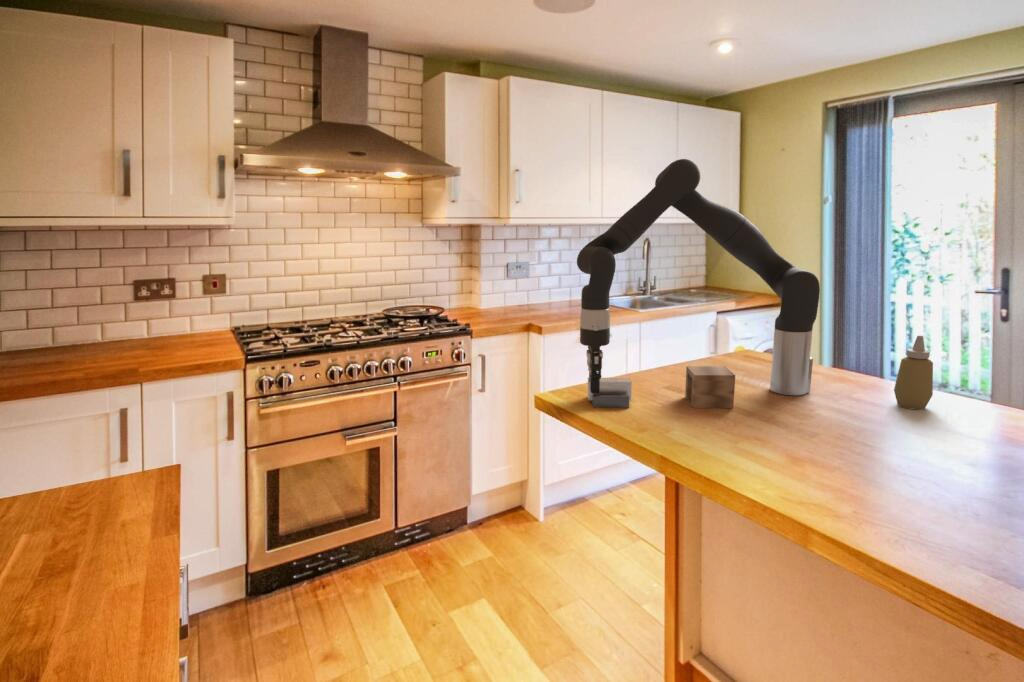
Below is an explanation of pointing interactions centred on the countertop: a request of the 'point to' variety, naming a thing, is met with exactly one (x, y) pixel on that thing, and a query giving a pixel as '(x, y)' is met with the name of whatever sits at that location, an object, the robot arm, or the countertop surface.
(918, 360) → the squeeze bottle
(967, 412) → the countertop surface
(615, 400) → the grey channel block
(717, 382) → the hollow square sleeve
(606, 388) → the shiny metal block
